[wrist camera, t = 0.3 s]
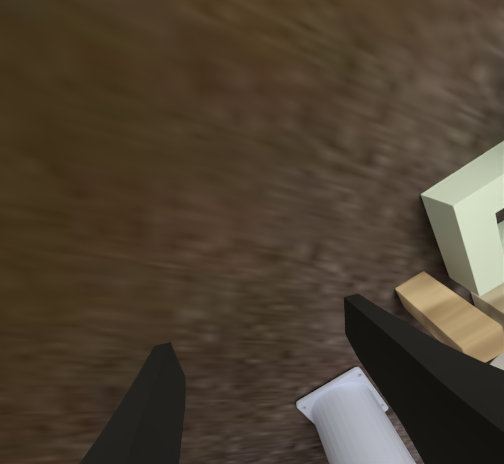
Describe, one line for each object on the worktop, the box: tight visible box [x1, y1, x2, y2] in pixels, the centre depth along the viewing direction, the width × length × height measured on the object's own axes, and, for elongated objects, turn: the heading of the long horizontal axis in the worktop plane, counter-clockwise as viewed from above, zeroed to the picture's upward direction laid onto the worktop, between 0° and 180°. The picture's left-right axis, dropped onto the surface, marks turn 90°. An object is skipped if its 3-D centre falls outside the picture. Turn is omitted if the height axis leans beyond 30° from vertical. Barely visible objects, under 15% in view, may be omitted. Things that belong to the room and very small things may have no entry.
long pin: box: [395, 271, 504, 362], centre depth 21 cm, size 3×3×7 cm
